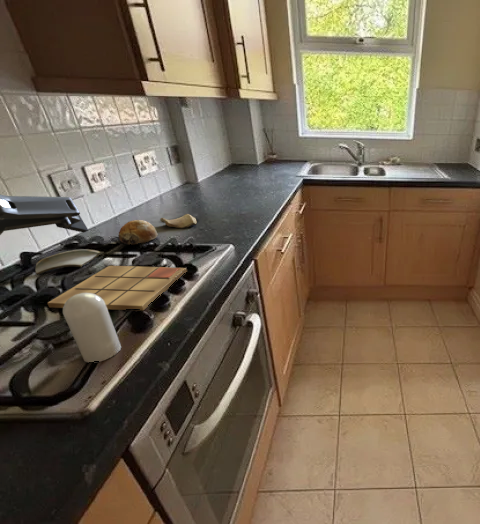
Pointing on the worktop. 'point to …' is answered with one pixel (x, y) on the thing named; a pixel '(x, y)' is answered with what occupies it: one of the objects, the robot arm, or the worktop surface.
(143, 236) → the bread roll
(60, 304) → the game board
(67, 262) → the ceramic fragment
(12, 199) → the robot arm
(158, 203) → the worktop surface
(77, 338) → the white domed cylinder
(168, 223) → the pottery shard
